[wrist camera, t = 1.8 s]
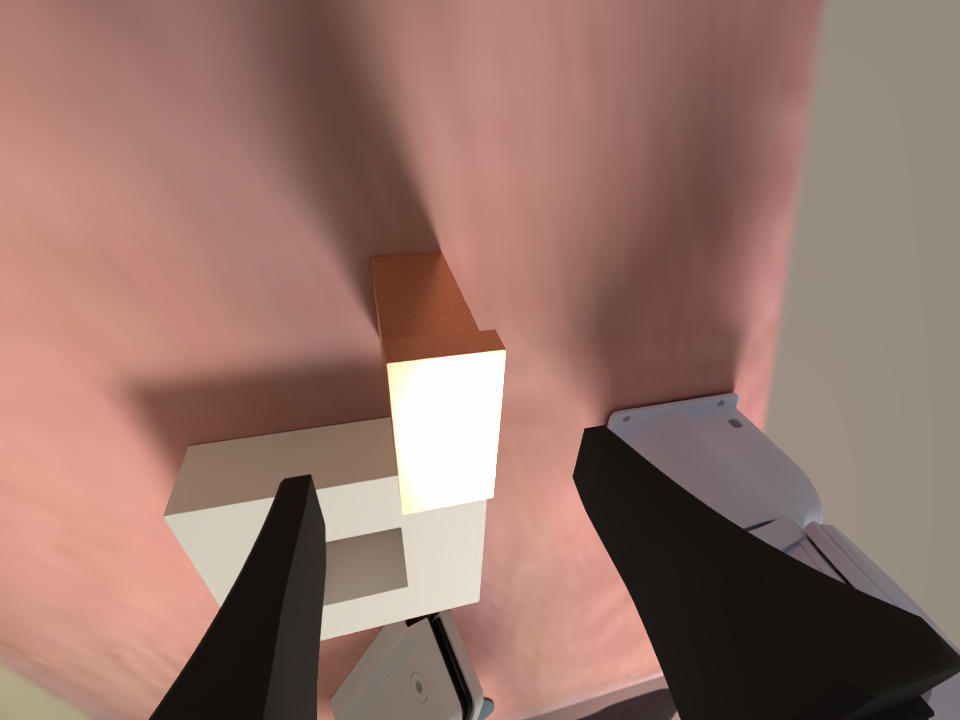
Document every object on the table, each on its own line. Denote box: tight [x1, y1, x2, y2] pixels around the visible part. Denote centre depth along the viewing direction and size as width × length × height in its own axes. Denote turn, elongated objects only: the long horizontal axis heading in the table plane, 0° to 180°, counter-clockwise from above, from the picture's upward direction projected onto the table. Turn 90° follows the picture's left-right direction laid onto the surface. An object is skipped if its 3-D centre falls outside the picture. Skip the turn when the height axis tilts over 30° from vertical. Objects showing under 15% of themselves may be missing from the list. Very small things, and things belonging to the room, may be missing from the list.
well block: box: [163, 417, 487, 641], centre depth 25 cm, size 14×14×4 cm
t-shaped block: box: [370, 252, 506, 515], centre depth 16 cm, size 3×6×9 cm, turn 178°
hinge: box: [330, 610, 484, 720], centre depth 38 cm, size 17×5×10 cm, turn 151°
